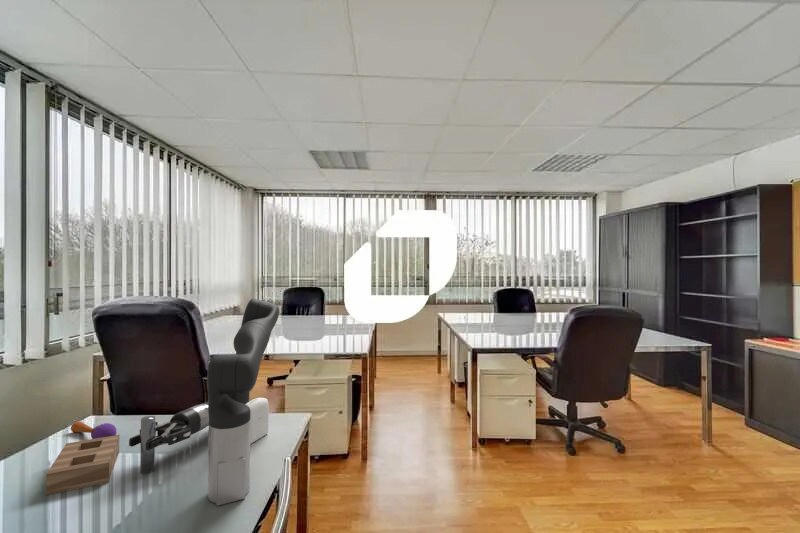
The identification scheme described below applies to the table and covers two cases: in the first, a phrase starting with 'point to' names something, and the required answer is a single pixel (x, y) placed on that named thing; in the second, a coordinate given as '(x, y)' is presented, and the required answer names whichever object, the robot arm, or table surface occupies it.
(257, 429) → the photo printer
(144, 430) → the pin
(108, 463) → the block
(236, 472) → the robot arm
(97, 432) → the maraca
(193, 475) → the table surface
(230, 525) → the table surface
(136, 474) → the table surface
